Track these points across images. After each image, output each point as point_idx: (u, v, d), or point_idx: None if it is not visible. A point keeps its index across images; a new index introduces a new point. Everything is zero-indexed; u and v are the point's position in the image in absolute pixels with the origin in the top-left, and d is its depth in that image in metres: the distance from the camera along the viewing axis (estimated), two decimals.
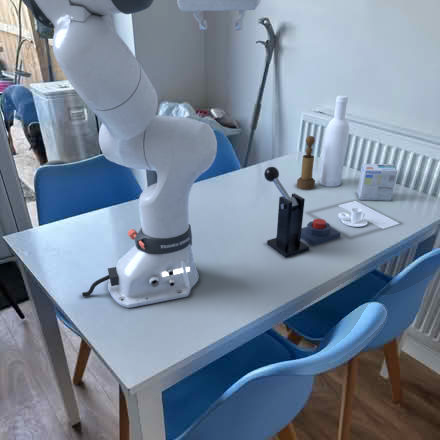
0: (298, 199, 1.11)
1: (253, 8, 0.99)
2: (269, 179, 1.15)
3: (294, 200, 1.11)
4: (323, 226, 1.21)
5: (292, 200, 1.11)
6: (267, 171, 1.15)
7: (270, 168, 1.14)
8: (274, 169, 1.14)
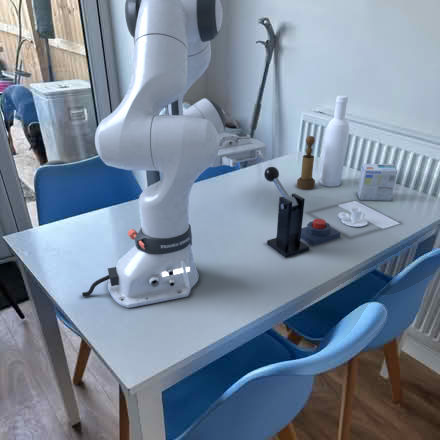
0: (298, 199, 1.11)
1: (264, 145, 1.31)
2: (269, 179, 1.15)
3: (294, 200, 1.11)
4: (323, 226, 1.21)
5: (292, 200, 1.11)
6: (267, 171, 1.15)
7: (270, 168, 1.14)
8: (274, 169, 1.14)
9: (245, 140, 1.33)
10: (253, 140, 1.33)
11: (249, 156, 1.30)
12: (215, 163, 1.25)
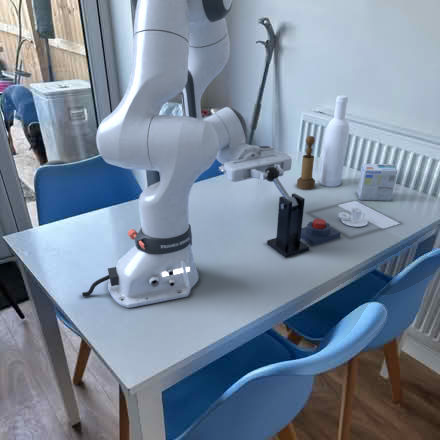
0: (298, 199, 1.11)
1: (290, 158, 1.21)
2: (269, 179, 1.15)
3: (294, 200, 1.11)
4: (323, 226, 1.21)
5: (292, 200, 1.11)
6: (267, 171, 1.15)
7: (270, 168, 1.14)
8: (274, 169, 1.14)
9: (268, 152, 1.24)
10: (277, 152, 1.24)
11: None
12: (238, 177, 1.16)
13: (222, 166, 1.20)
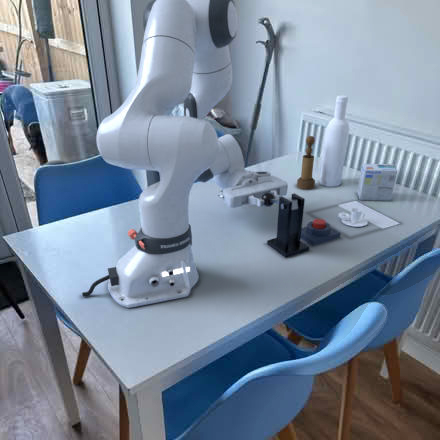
0: (298, 199, 1.11)
1: (286, 184, 1.27)
2: (266, 202, 1.20)
3: (292, 199, 1.12)
4: (323, 226, 1.21)
5: (290, 199, 1.12)
6: (262, 196, 1.20)
7: None
8: (268, 192, 1.20)
9: (265, 178, 1.29)
10: (273, 178, 1.30)
11: None
12: (236, 204, 1.21)
13: (221, 192, 1.26)
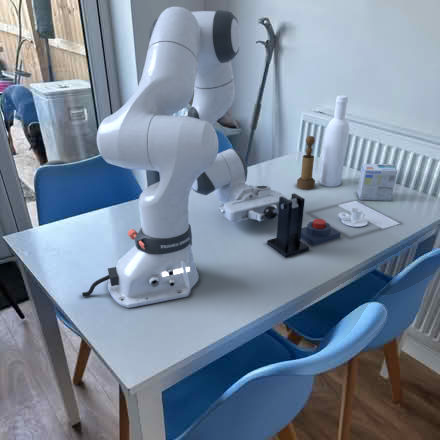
0: (298, 199, 1.11)
1: None
2: (269, 213, 1.20)
3: None
4: (323, 226, 1.21)
5: None
6: (264, 210, 1.22)
7: None
8: (269, 206, 1.22)
9: (265, 192, 1.31)
10: (273, 192, 1.32)
11: None
12: (236, 218, 1.23)
13: (222, 206, 1.28)
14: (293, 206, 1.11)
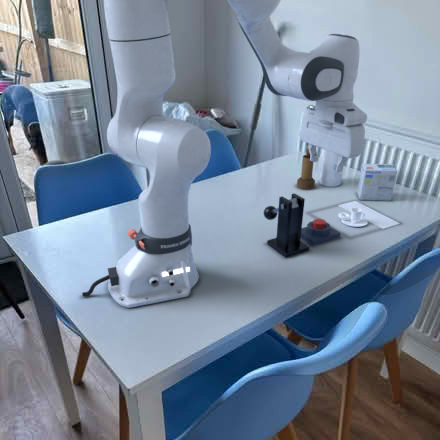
0: (298, 199, 1.11)
1: (348, 156, 1.03)
2: (269, 213, 1.20)
3: None
4: (323, 226, 1.21)
5: None
6: (264, 210, 1.22)
7: None
8: (269, 206, 1.22)
9: (339, 129, 1.02)
10: (346, 134, 1.00)
11: None
12: None
13: (307, 110, 1.12)
14: (293, 206, 1.11)
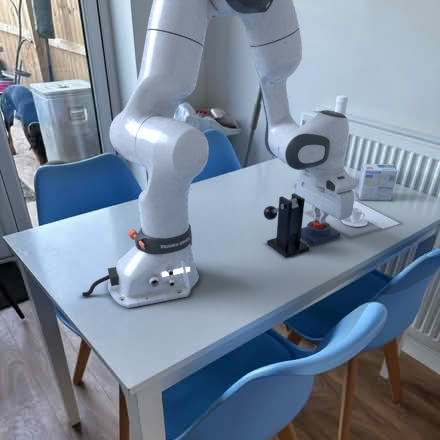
0: (298, 199, 1.11)
1: (339, 219, 1.12)
2: (269, 213, 1.20)
3: None
4: (323, 227, 1.21)
5: None
6: (264, 210, 1.22)
7: None
8: (269, 206, 1.22)
9: (330, 194, 1.11)
10: (337, 200, 1.10)
11: None
12: None
13: (302, 170, 1.21)
14: (293, 206, 1.11)
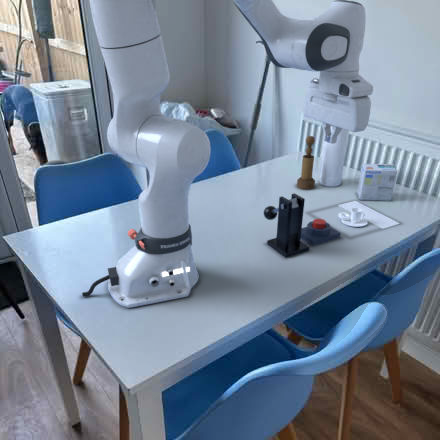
0: (298, 199, 1.11)
1: (353, 130, 0.99)
2: (269, 213, 1.20)
3: None
4: (323, 226, 1.21)
5: None
6: (264, 210, 1.22)
7: None
8: (269, 206, 1.22)
9: (344, 101, 0.98)
10: (351, 107, 0.96)
11: None
12: None
13: (311, 84, 1.08)
14: (293, 206, 1.11)
